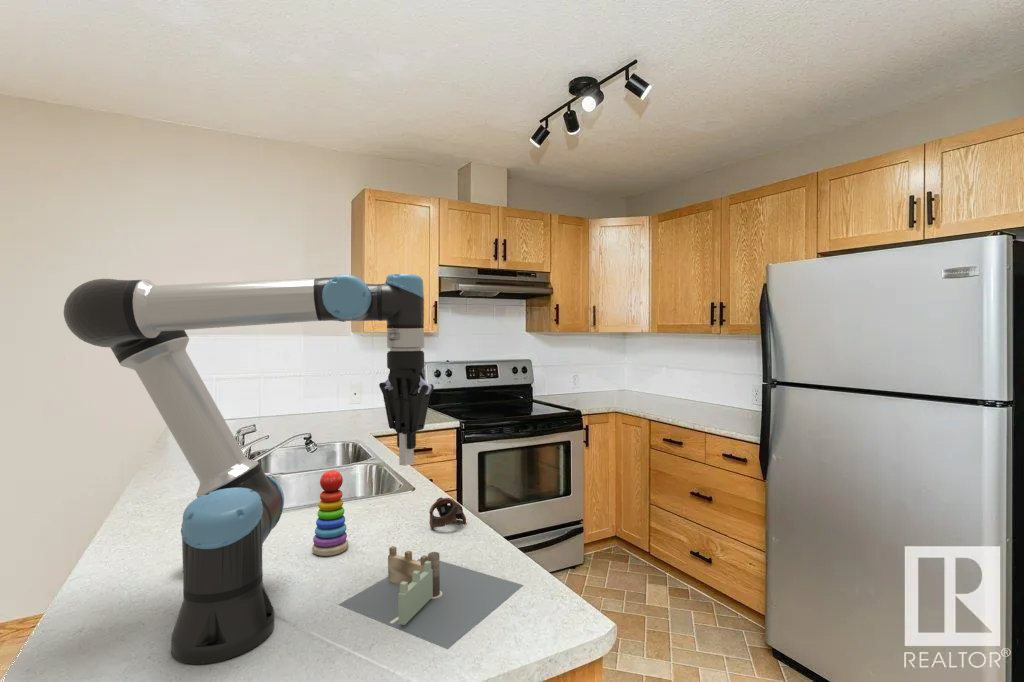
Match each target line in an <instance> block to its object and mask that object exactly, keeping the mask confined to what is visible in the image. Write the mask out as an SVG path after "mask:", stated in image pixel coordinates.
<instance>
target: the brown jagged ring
mask: <svg viewBox="0 0 1024 682" xmlns="http://www.w3.org/2000/svg"><path fill="white" fill-rule="evenodd" d="M435 510H437V512H438V515H439V516H436V515H434V511H435ZM458 520H461V521H463V522H464V524H465V523H466V524H467V516H466V515H465V513H464V511H463V506H462V505H461V504H460V503H459V502H457V501H456V500H454V499H453V498H451V497H439V498H437V499H436V501H435V502H434V503H433V504H432V505H431V506H430V509H429V521H428V522H429V525H430V528H432V529H431V530H434V528H437V527H438V528H441V527H445V526H448V525H449V524H451V523H457V522H458Z"/></svg>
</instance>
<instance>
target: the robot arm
mask: <svg viewBox="0 0 1024 682" xmlns="http://www.w3.org/2000/svg"><path fill="white" fill-rule="evenodd" d="M63 317H64V321H65V323H66V326H67V328H68V329H69V330H70V331H71V333H72V334H73V335H74V336H75V337H77V338H78V339H79V340H81V341H82V342H84V343H88V344H89V345H91V346H92V345H93V346H94V347H101V348H110V350H111V352H112V353H113V355H114V357H115V359H116V360H117V362H118V363H119V365H120V367H124V368H127V369H130V370H134V371H135V373H136V374H137V376H138V378H139V380H140V381H141V384H142V385H143V386H144V388H145V390H146V392H147V394H148V395H149V398H151V400H152V402H153V404H154V405H155V407H156V409H157V410H158V412H159V414H160V415H161V418H162V420H163V421H164V422H165V424H166V426H167V428H168V430H169V431H170V432H171V435H172V437H173V438H174V440H175V441H176V443H177V445H178V447H179V449H180V450H181V452H182V453H183V455H184V457H185V459H186V461H187V462H188V465H189V466H190V468H191V470H192V471H193V473H194V475H195V476H196V478H197V480H198V482H199V487H198V489H197V492H196V494H195V496H196V497H195V499H193V500H192V501H190V503H189V504H188V505H187V506H186V507H185V509H184V511H183V514H182V522H181V528H180V533H181V535H180V536H181V542H182V543H181V547H182V553H181V554H182V578H183V579H182V584H183V585H182V587H183V589H182V591H183V597H182V598H183V600H182V603H181V607H180V610H179V613H178V615H177V619H176V621H175V624H174V628H173V631H172V634H171V638H170V639H171V640H170V643H171V645H170V647H171V655H172V657H173V658H174V659H176V660H177V661H178V662H181V663H185V664H189V665H190V664H192V665H203V664H212V663H218V662H221V661H225V660H229V659H232V658H234V657H237V656H240V655H243V654H245V653H247V652H248V651H251V650H252V649H254V648H256V647H257V646H260V644H262V643H263V642H264V641H265V640H266V639H268V638H269V636H270V635H271V634H272V633H273V631H274V628H275V609H274V606H273V605H272V602H271V599H270V597H269V594H268V592H267V590H266V587H265V584H264V582H263V581H264V577H263V575H264V574H263V573H264V572H263V568H264V567H263V544H264V542H265V541H266V540H267V538H268V537H269V535H270V534H271V532H272V530H273V529H274V528H275V527H276V526H277V524H278V523H279V521H280V519H281V516H282V514H283V510H284V506H285V495H284V494H285V493H284V491H283V489H282V487H281V485H280V484H279V482H278V481H277V480H276V479H275V478H273V477H272V476H271V475H269V474H268V475H267V474H266V472H264V469H263V468H262V465H261V464H260V463H259V462H258V461H257V460H253V459H249V458H247V457H246V455H245V454H244V452H243V449H242V448H241V446H240V445H239V443H238V441H237V439H236V438H235V436H234V434H233V432H232V431H231V429H230V427H229V425H228V424H227V422H226V420H225V418H224V416H223V415H222V413H221V411H220V409H219V407H218V406H217V403H216V402H215V400H214V398H213V397H212V395H211V393H210V391H209V390H208V388H207V386H206V385H205V383H204V381H203V379H202V377H201V376H200V374H199V372H198V370H197V368H196V366H195V365H194V363H193V362H192V359H191V358H190V356H189V354H188V352H187V346H188V344H189V342H190V337H189V336H188V334H187V333H186V331H188V330H200V329H201V330H202V329H216V328H217V329H218V328H231V327H233V328H234V327H235V328H236V327H245V326H246V327H247V326H248V327H249V326H262V325H275V324H277V325H278V324H290V323H291V324H293V323H307V322H322V321H323V322H325V321H328V322H329V321H333V322H334V321H335V322H365V321H366V322H370V321H371V322H372V321H373V322H375V321H378V322H385V321H386V347H387V348H388V349H390V350H388V351H387V353H386V367H387V370H388V369H389V372H388V376H387V379H386V380H385V381H383V382H379V384H378V386H379V389H380V391H381V393H382V397H383V401H384V408H385V413H386V417H387V418H386V419H387V424H388V428H389V429H390V430H391V429H392V430H394V431H395V432H396V446H397V448H399V449H398V451H399V453H398V455H399V460H398V461H399V466H403V467H404V466H408V465H412V464H414V463H415V458H414V454H415V451H414V449H416V446H417V432H419V431H422V430H424V429H425V425H426V419H427V414H428V408H429V404H430V403H429V402H430V398H431V394H432V392H433V390H434V388H435V386H434V384H433V383H430V384H429V383H428V382H427V381H426V380H425V376H424V373H423V369H424V367H425V352H424V350H422V349H423V348H425V325H424V324H425V294H424V281H423V279H422V277H421V276H420V275H418V274H413V273H391V274H388V275H387V276H386V280H385V283H378V284H376V283H375V284H374V283H366V282H365V281H364V280H363V279H361V278H360V277H358V276H356V275H353V274H346V273H345V274H338V275H335V276H333V277H320V278H319V277H318V278H316V277H311V278H290V279H289V278H287V279H271V280H269V279H267V280H266V279H265V280H249V281H247V280H246V281H244V280H243V281H228V282H227V281H225V282H206V283H205V282H202V283H185V284H183V283H181V284H178V283H177V284H162V285H161V284H160V285H156V284H155V283H154V282H152V281H151V280H148V279H127V280H126V279H117V278H116V279H114V278H98V279H92V280H88V281H86V282H84V283H82V284H80V285H78V286H77V287H76V288H74V289H73V290H72V291H71V292H70V293H69V295H68V297H66V300H65V303H64V305H63Z"/></svg>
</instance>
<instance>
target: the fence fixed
mask: <svg viewBox="0 0 1024 682" xmlns="http://www.w3.org/2000/svg"><path fill="white" fill-rule="evenodd" d="M388 552H389V554H388V555H387V577H388V581H390V582H393V583H396V584H399V585H400V583H401V582H402V581H405V582H408V585H409V584H410V583H411V582H412V573H413V572H414V571H420V574H421V573H422V572H423V571H424V562H426V561H431V569H433V597H436V596H438V595H440V561H441V560H440V552H437V551H431V552H428V554H427V555H421V556H420V558H421V562H419V561H417V560H415V559H413V552H412V551H411V550H407V551H405V552H404V556H403V555H399V554H397V547H396V546H394V545H392V546H391V547H389V548H388Z"/></svg>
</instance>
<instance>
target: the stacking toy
mask: <svg viewBox="0 0 1024 682" xmlns="http://www.w3.org/2000/svg"><path fill="white" fill-rule="evenodd" d="M319 479H320V481H319V484H320V487H321V489H322V490H323V491H321V493H320V494H319V499H320V501H319V502H318V508H319V509H318V510H317V518H316V521H315V525H316V527H315V530H314V536H313V538H312V542H313V545H312V549H311V550H312V552H313V553H314V554H315V555H317V556H320V557H321V556H323V557H330V556H336V555H339V554H341V553H343V552H346V550H347V548H348V547H349V542H348V541H349V540H347V538H348V534H347V532H346V531H347V525H346V523H345V522H346V517H345V516H344V515H345V508H344V507H343V506H344V501H343V499H342V498H343V492H342V490H340V488H341V487H342V485H343V481H344V479H343V475H342V473H341V472H339V471H337V470H334V469H333V470H332V469H331V470H328V471H326V472H324V473H323V474H322V475H321V477H320V478H319Z"/></svg>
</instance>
